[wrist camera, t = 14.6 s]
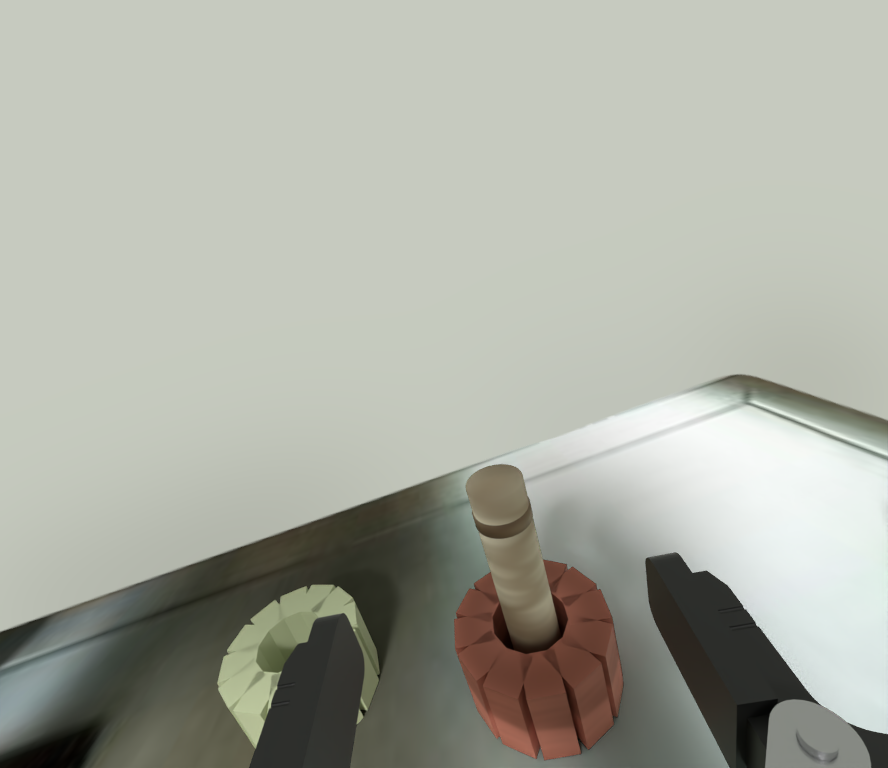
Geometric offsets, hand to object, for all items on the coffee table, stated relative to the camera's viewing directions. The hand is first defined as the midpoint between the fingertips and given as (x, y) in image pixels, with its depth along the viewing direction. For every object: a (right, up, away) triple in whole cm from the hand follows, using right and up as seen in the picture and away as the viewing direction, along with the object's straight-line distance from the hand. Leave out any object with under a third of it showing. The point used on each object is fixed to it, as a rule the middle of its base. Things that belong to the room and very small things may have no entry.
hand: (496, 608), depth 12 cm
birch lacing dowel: (+5, -13, +16) cm, 21 cm away
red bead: (+5, -13, +17) cm, 21 cm away
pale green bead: (-10, -16, +20) cm, 27 cm away
